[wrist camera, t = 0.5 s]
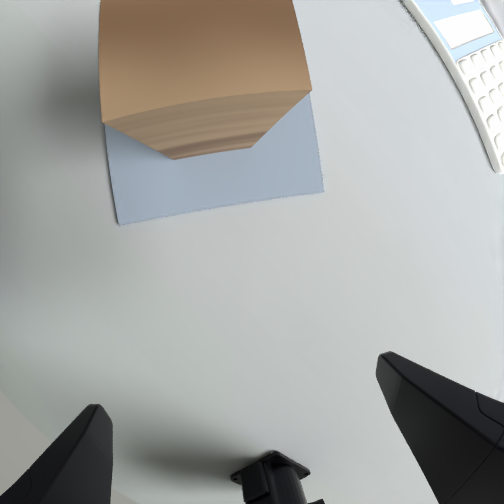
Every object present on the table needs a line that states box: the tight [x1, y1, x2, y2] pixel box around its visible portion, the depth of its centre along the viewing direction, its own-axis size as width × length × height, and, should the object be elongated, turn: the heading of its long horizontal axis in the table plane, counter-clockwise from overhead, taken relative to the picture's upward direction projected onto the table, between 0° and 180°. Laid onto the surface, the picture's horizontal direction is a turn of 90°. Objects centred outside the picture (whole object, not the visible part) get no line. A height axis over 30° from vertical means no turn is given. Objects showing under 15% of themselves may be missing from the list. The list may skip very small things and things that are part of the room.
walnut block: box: [99, 0, 312, 160], centre depth 12 cm, size 5×5×13 cm
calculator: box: [402, 0, 504, 174], centre depth 19 cm, size 13×20×2 cm, turn 34°
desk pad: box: [104, 93, 324, 226], centre depth 18 cm, size 18×14×1 cm
